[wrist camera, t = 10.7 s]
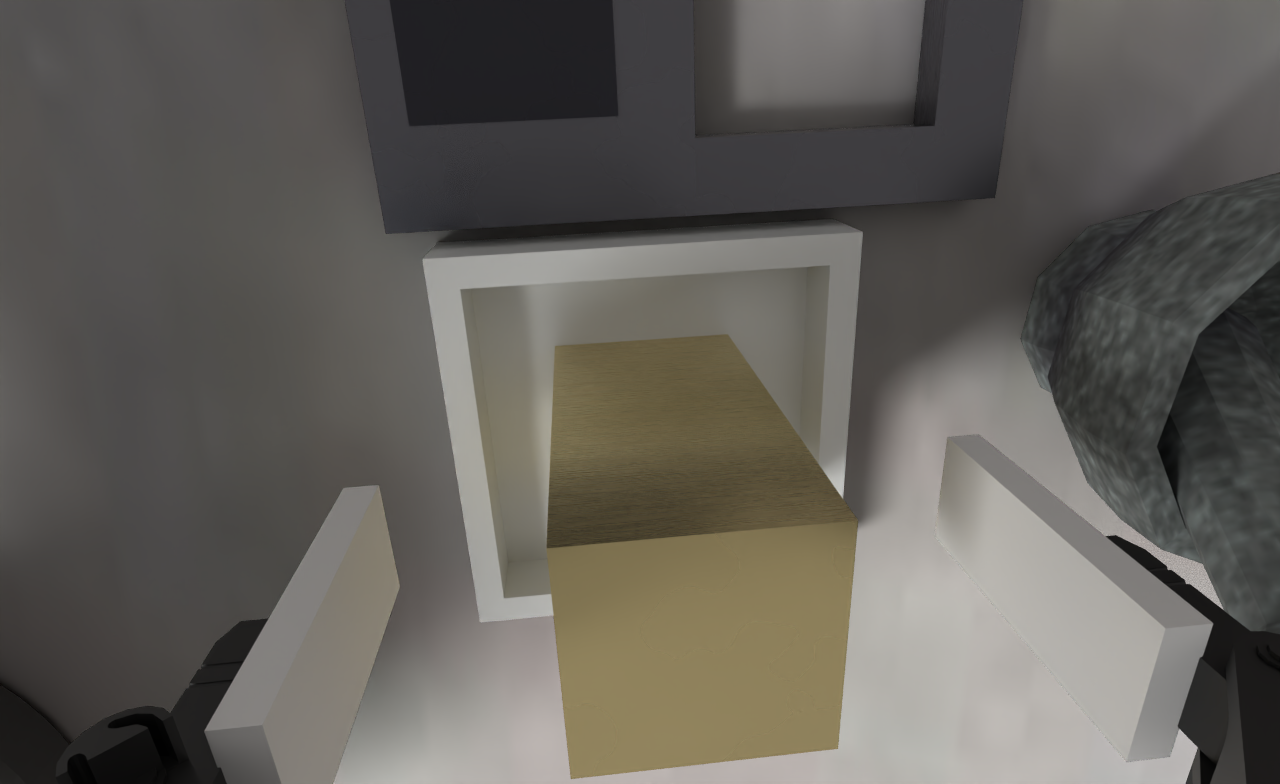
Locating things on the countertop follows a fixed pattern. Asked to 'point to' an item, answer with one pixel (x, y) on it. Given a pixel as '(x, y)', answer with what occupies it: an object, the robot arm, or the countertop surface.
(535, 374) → the white tray
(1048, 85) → the countertop surface
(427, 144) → the dark grey flat slab
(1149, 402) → the mortar and pestle
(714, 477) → the brass block
